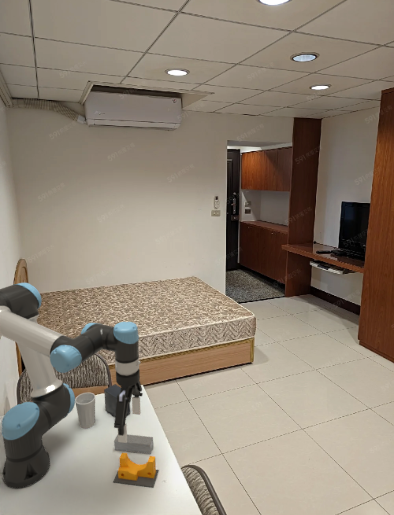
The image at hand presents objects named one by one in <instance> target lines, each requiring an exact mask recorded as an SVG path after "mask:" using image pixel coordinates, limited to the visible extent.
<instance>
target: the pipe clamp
mask: <svg viewBox="0 0 394 515" xmlns="http://www.w3.org/2000/svg"><path fill="white" fill-rule="evenodd" d="M118 461H119V467H118V469H117V472H118V478H121V479H128V480H136V481H137V478H138V476H139V477H147V478H154V476H155V473H156V470H157V466H156V456H153V455H149V457H148V460H147V462H145V463H142V464H141V463H140V464H139V463H135V462H133V461H132V460H131V459H130V457H129V454H128V452H121V454H120V456H119V459H118Z"/></svg>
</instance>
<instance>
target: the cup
mask: <svg viewBox="0 0 394 515" xmlns="http://www.w3.org/2000/svg"><path fill="white" fill-rule="evenodd" d="M75 406H76V411H77V417H78V418H77V419H78V422H79V427H80V428H81V429H84V430H86V429H90V428H92V427H94V426H95V424H96V395H95V393H93V392H82V393H80V394H79V395H77V396H75Z"/></svg>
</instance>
